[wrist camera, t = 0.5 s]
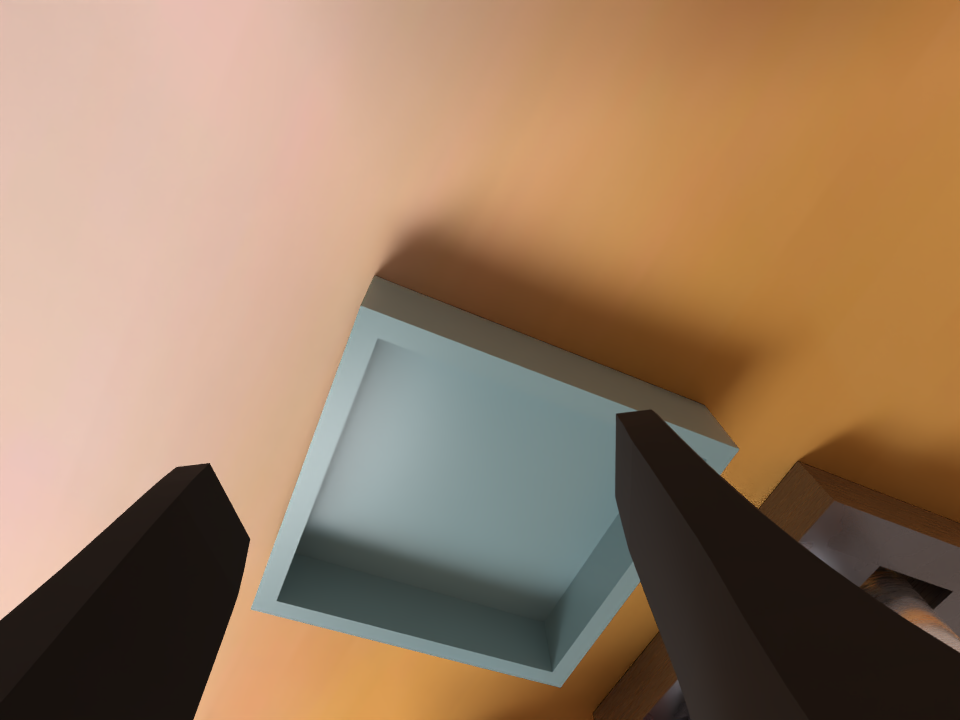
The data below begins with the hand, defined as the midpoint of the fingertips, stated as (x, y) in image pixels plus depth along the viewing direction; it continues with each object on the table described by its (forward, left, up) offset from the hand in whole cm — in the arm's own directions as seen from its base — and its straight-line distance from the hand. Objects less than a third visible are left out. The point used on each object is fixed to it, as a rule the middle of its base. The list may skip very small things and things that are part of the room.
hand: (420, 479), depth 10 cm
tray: (-7, -5, -10) cm, 13 cm away
